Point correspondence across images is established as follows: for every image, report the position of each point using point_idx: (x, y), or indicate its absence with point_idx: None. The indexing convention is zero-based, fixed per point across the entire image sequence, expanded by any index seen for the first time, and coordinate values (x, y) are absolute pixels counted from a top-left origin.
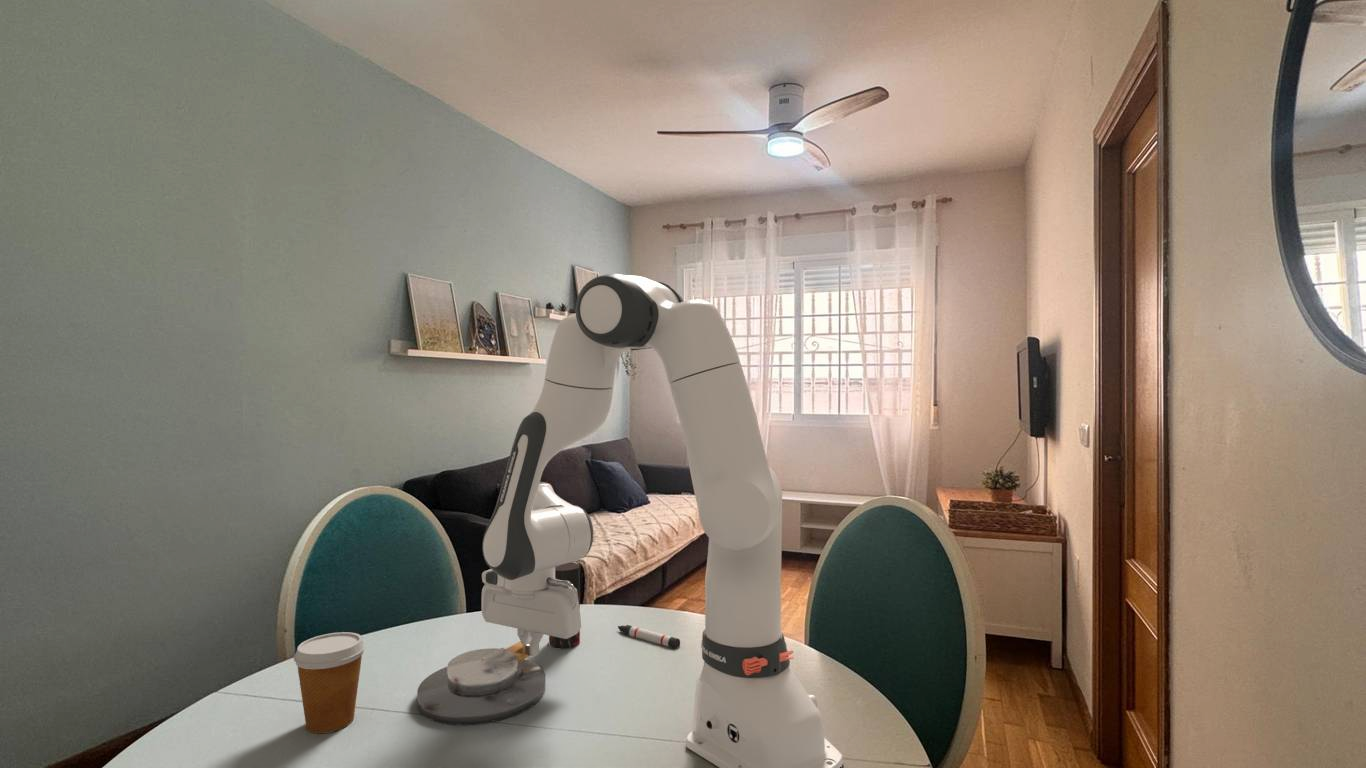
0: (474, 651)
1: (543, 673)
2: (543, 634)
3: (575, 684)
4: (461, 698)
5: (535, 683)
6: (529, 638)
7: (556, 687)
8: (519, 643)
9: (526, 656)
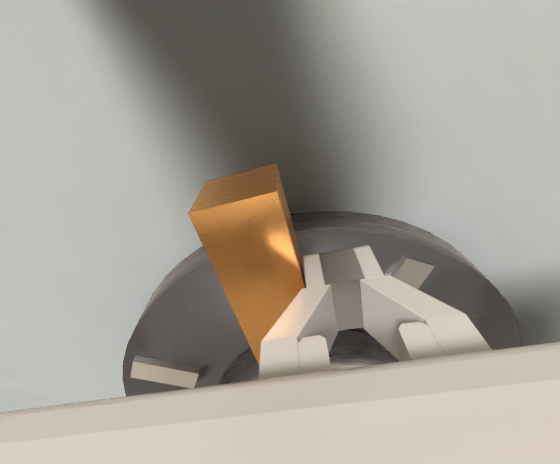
0: None
1: (461, 270)
2: (464, 315)
3: (555, 158)
4: None
5: (484, 325)
6: (320, 314)
7: (491, 222)
8: (250, 307)
9: (302, 260)
